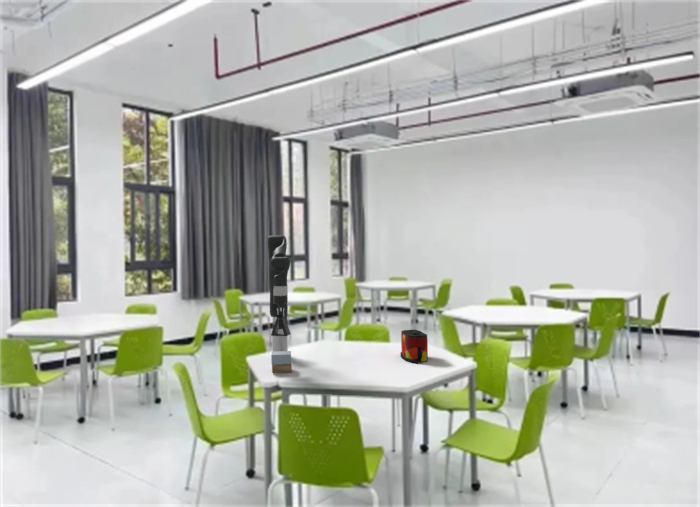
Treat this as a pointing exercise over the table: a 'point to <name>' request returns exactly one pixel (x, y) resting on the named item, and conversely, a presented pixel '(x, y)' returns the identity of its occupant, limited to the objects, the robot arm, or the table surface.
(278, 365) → the tower bottom
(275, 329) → the phone stand
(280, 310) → the robot arm
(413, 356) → the bag
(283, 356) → the tower top
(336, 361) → the table surface
